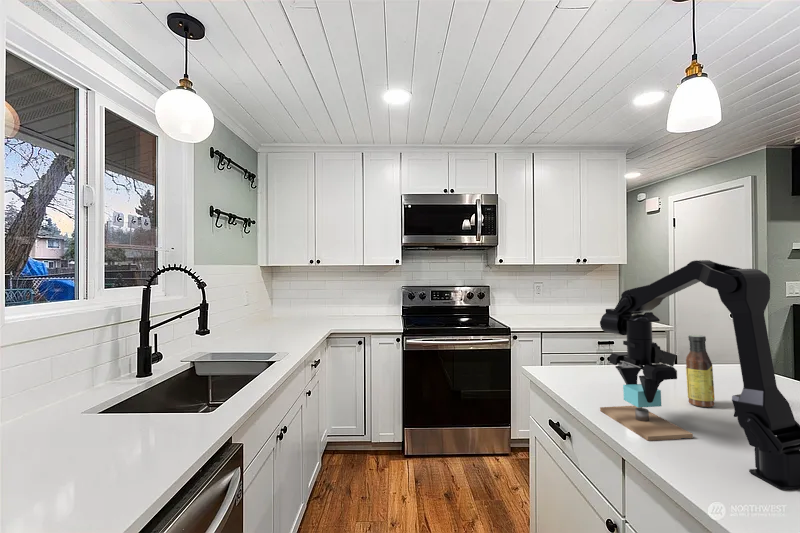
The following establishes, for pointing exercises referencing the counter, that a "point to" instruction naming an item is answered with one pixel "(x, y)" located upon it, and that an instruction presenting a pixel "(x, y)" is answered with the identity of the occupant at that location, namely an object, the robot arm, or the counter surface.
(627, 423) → the post base
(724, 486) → the counter surface
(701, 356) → the sauce bottle
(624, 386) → the teal block
